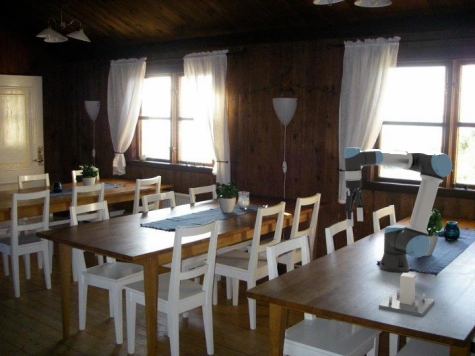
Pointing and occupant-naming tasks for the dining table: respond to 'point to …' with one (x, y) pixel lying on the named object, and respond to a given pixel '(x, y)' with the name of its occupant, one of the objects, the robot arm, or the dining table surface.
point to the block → (407, 288)
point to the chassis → (407, 305)
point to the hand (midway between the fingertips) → (355, 223)
